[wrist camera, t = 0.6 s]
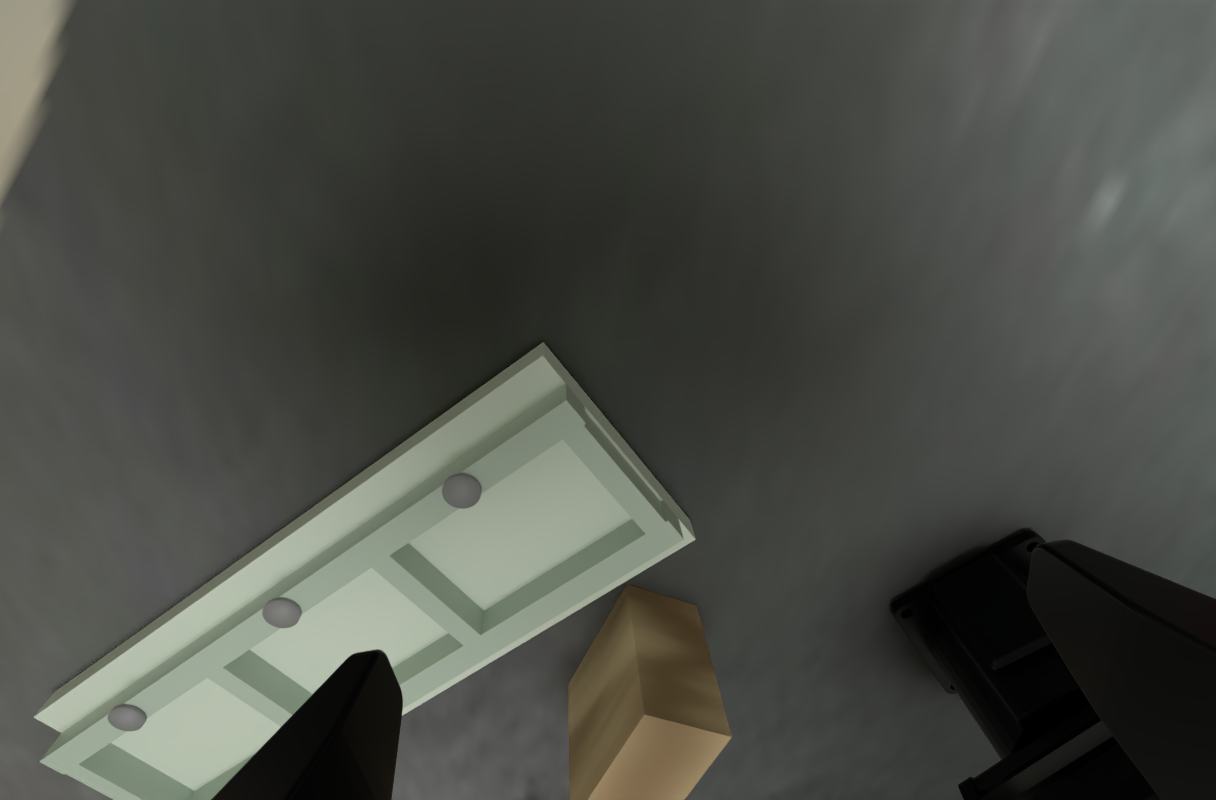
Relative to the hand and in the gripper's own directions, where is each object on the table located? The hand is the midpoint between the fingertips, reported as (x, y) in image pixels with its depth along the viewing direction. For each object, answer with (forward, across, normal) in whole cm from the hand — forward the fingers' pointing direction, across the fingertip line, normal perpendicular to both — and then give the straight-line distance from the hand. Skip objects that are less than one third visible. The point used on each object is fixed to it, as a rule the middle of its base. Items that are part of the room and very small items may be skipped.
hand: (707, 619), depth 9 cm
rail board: (+13, +12, +10) cm, 20 cm away
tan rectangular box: (+13, +2, +14) cm, 20 cm away
